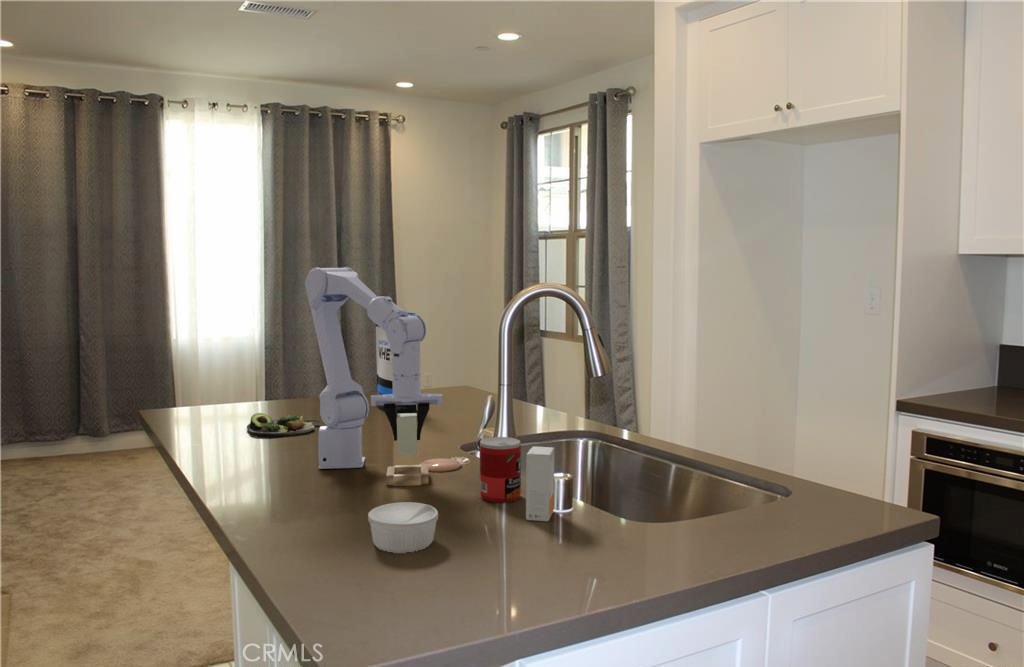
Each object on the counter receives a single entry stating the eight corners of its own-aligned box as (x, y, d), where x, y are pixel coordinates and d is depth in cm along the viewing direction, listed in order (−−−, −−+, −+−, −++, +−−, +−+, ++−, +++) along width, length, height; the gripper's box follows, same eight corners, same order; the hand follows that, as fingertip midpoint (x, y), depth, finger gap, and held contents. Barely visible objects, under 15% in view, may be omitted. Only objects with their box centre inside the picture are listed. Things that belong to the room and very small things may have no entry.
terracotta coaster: (420, 472, 170) (419, 469, 170) (420, 461, 179) (420, 459, 179) (461, 471, 171) (461, 468, 171) (459, 460, 180) (459, 457, 180)
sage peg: (397, 455, 162) (396, 417, 161) (397, 451, 166) (397, 413, 165) (417, 455, 162) (416, 417, 162) (417, 450, 166) (416, 413, 166)
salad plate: (314, 421, 226) (313, 405, 225) (329, 433, 210) (328, 416, 209) (243, 427, 217) (242, 411, 217) (253, 441, 201) (252, 423, 201)
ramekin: (444, 552, 124) (444, 519, 124) (372, 560, 121) (372, 526, 121) (431, 529, 135) (431, 499, 134) (365, 535, 132) (364, 505, 131)
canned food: (512, 505, 148) (512, 447, 147) (473, 500, 151) (473, 443, 150) (526, 493, 155) (526, 438, 154) (488, 489, 158) (488, 435, 157)
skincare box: (549, 522, 138) (549, 455, 137) (525, 520, 139) (525, 453, 138) (554, 511, 144) (554, 446, 143) (531, 509, 145) (531, 445, 144)
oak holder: (386, 486, 160) (386, 476, 160) (388, 474, 168) (387, 465, 168) (428, 484, 161) (428, 475, 161) (428, 473, 169) (428, 464, 169)
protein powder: (390, 401, 255) (388, 308, 252) (430, 413, 236) (429, 312, 233) (363, 404, 249) (361, 309, 246) (402, 417, 230) (401, 314, 227)
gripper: (369, 377, 158) (370, 444, 159) (442, 376, 159) (442, 442, 161) (371, 372, 165) (372, 436, 166) (441, 371, 166) (441, 435, 168)
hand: (407, 439), depth 164 cm, fingers closed on sage peg, 4 cm apart
